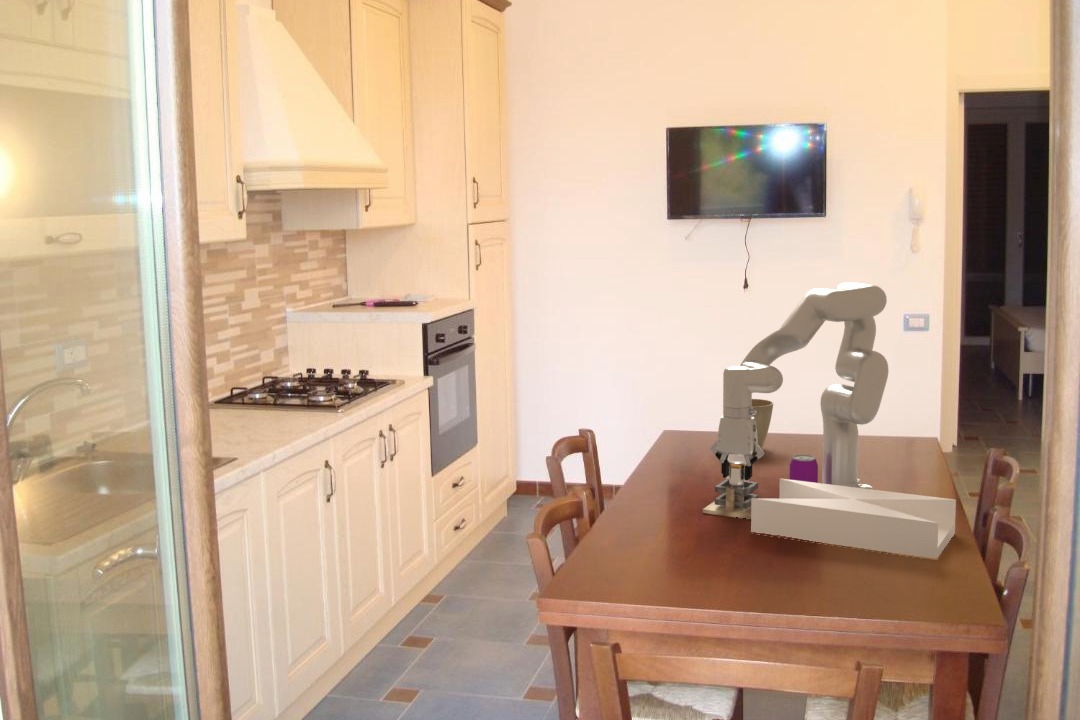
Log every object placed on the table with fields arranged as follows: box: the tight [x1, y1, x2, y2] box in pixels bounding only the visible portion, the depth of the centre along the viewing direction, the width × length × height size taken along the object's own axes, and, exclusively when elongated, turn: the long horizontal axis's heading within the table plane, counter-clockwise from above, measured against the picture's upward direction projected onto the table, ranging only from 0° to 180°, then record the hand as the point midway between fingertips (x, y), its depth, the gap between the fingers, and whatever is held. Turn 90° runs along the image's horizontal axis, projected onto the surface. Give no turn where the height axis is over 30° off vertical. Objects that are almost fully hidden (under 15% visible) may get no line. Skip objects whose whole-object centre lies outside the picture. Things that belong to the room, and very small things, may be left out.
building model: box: [750, 478, 957, 558], centre depth 272 cm, size 45×22×10 cm, turn 59°
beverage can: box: [788, 454, 819, 483], centre depth 303 cm, size 8×8×12 cm
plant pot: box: [752, 398, 774, 450], centre depth 361 cm, size 15×15×16 cm
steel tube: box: [728, 461, 745, 508], centre depth 294 cm, size 4×4×12 cm
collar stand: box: [702, 478, 759, 520], centre depth 294 cm, size 14×14×7 cm
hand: (736, 477), depth 293 cm, fingers open, 5 cm apart
